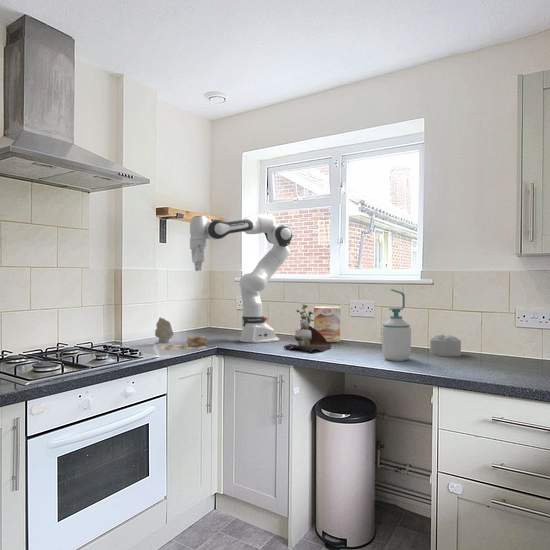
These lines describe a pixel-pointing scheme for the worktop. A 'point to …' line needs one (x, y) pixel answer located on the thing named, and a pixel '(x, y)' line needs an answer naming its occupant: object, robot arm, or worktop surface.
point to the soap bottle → (396, 336)
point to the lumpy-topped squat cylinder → (445, 346)
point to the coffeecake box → (328, 322)
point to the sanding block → (197, 341)
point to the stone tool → (163, 330)
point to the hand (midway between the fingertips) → (198, 270)
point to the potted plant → (308, 335)
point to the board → (179, 347)
